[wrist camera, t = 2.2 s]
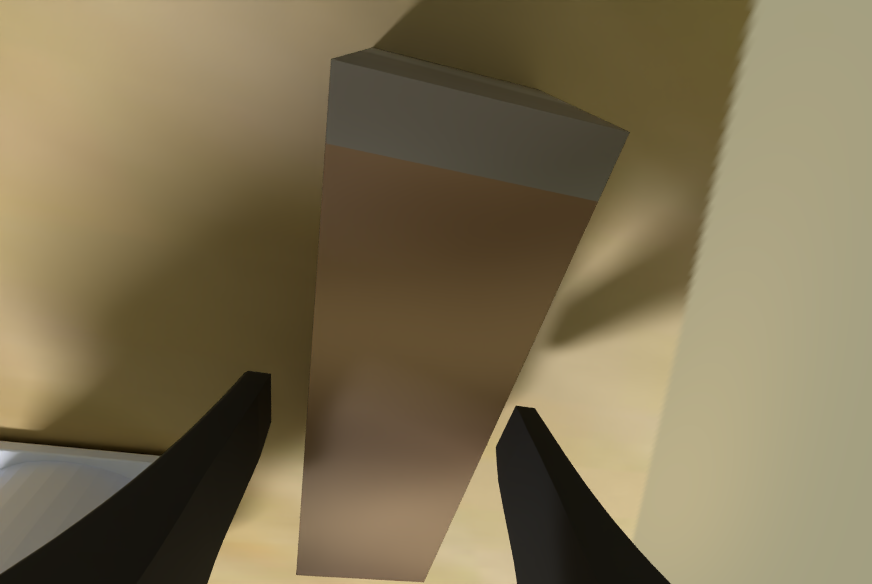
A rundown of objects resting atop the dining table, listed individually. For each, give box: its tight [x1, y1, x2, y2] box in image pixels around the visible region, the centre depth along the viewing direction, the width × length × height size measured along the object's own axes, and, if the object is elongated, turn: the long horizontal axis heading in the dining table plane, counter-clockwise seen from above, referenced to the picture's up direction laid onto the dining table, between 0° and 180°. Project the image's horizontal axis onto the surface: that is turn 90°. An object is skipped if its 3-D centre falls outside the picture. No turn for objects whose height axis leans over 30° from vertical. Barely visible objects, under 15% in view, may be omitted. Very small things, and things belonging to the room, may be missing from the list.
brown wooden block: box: [296, 48, 630, 582], centre depth 11 cm, size 14×4×5 cm, turn 168°
